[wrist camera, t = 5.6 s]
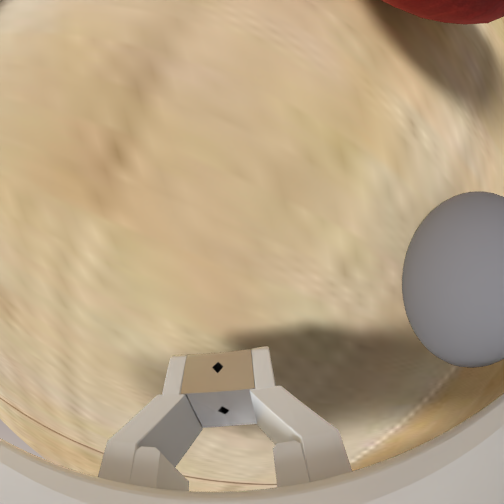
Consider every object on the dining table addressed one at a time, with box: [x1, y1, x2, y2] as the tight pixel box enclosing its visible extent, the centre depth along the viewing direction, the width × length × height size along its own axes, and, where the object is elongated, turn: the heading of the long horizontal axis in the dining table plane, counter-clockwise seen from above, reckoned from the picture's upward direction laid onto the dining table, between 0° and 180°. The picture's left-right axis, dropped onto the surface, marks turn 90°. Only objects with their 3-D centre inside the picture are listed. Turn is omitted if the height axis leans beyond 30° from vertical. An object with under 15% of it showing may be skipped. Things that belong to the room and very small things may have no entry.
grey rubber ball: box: [402, 192, 504, 367], centre depth 6 cm, size 6×6×6 cm
